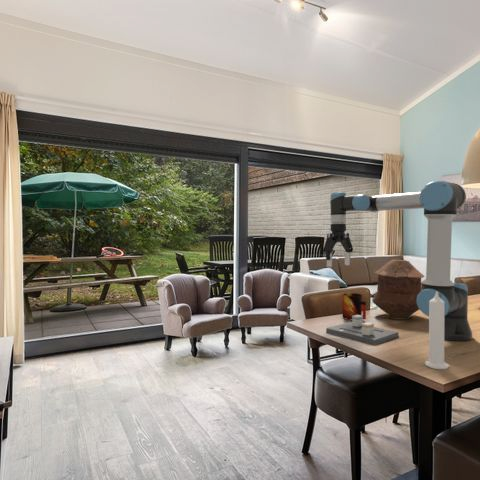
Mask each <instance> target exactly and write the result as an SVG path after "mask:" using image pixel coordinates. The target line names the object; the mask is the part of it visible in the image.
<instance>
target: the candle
mask: <svg viewBox="0 0 480 480" xmlns="http://www.w3.org/2000/svg"><path fill="white" fill-rule="evenodd" d="M444 311H445V302H444V301H443V300H442V299H440V297H439V295H438V292H437V291H436V294H435V297H434V298H433V299H431V300H430V301H429V316H428V318H429V319H428V320H429V321H428V334H429V335H428V359H427V360H425V361H424V365H425V367H428V368H431V369H433V370H448V369H449V368H450V366H449V364H448V363H447V362H445V339H444Z"/></svg>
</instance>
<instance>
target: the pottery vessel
mask: <svg viewBox="0 0 480 480" xmlns="http://www.w3.org/2000/svg"><path fill="white" fill-rule="evenodd" d="M374 274H375V275H377V291H376V292H375V294H374V296H373V298H372V300H371V301H372V303H373V304H374V305H375V306H376V307H378V308H379V309H380V310H382V311H383V312H384V313H385V314H387V316H388V317H389V318H391V319H394V318H395V320H407V319H410V317H411V316H412V315H413V314H414V313H416V312H418V311H419V310H420V309H419V308H418V305H417V296H418V294H419V293H420V292H421V291H422V279H423V278H426V276H425V275H424V274H423V273H422V272H420V270H419V269H418V268H416V267H415V266H414V265H413V264H412V263H411V262H410V261H409V260H406V259H405V260H404V259H391V260H390V261H387V262H386V263H385V264H384V265H383V266H381V268H379V269H377V270H376V271H374Z"/></svg>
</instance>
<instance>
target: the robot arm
mask: <svg viewBox="0 0 480 480" xmlns="http://www.w3.org/2000/svg"><path fill="white" fill-rule="evenodd" d="M466 199H467V194H466V190H465V189H464V188H463V187H462V186H461V185H460V184H458V183H455V182H449V181H445V180H434V181H431V182H429V183H427V184H425V185H424V186H423V188H422V189H421V190H420V191H415V192H413V191H412V192H404V193H403V192H402V193H393V194H391V193H390V194H382V195H367V194H366V193H365V194H364V193H363V194H360V193H358V194H353V195H351V194H350V195H347V193H346V192H345V191H339V192H337V191H336V192H331V194H330V201H329V203H330V223H331V224H330V233H329V232H328V233H326V234H327V235H326V240H325V243H324V246H323V249H322V252H323V253H324V254H325V260H326V267H329V268H332V267H333V254H332V251H333V249H335V245H336V244H338V243H340V244H341V246H342V247H343V249H344V251H345V252H344V265H345V266H350V265H351V253H352V252H353V251H354V247H353V245H352V241H351V239H350V233H349V232H346V231H347V224H346V223H347V212H353V211H354V212H355V211H357V212H373V213H374V212H380V211H399V210H418V209H423V216H424V217H425V218H426V219H427V234H426V235H427V238H426V268H425V269H426V270H425V271H426V274H425V275H426V276H425V279H424V280H421V292H420V293H419V294H418V296H417V305H418V308H419V310H420V311H421V312H422V314H423V315H425V316H426V317H429V301H430V300H431V299H433V298H434V297H435V294H436V291H437V292H438V295H439V297H440V299H442V300H443V301H444V302H445V311H444V340H445V341H447V340H448V341H454V342H465V341H471V340H472V339H473V331H472V329H471V326H470V323H469V320H468V311H469V310H468V309H469V308H468V306H469V305H468V304H469V303H468V302H469V298H468V297H469V291H468V288H469V287H468V285H467V284H466V283H460V282H459V283H458V282H453V281H452V280H451V267H452V264H451V263H452V262H451V261H452V260H451V259H452V236H453V235H452V232H453V231H452V229H453V228H452V227H453V219H455V217H457V215H458V209H460V208H461V207H462V206H464V204H465V201H466Z"/></svg>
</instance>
